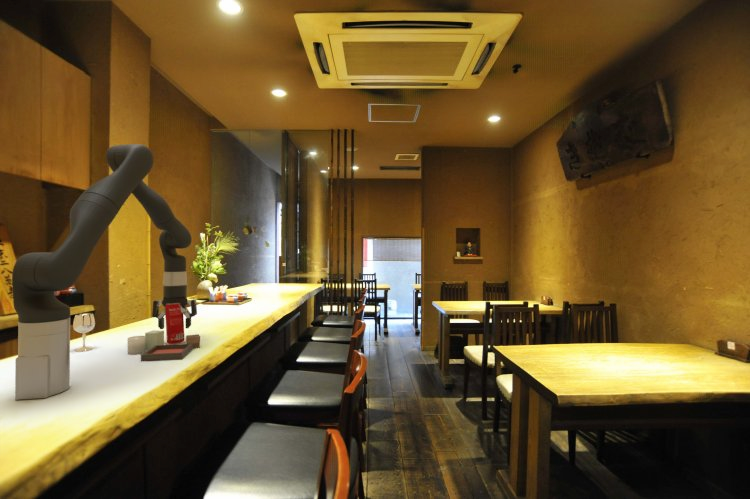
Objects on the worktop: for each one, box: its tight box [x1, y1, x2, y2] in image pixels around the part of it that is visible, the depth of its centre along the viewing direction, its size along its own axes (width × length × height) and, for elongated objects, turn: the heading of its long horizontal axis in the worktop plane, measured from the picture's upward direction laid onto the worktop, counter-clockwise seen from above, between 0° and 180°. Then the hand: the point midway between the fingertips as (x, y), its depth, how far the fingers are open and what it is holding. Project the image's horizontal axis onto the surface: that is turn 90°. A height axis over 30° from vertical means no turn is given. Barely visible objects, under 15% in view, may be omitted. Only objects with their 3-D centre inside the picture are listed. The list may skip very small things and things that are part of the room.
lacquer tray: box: [140, 343, 193, 362], centre depth 118 cm, size 12×12×2 cm
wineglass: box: [72, 312, 96, 352], centre depth 124 cm, size 6×6×12 cm
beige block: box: [127, 335, 146, 356], centre depth 121 cm, size 5×5×5 cm
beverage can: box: [164, 303, 185, 345], centre depth 133 cm, size 6×6×15 cm
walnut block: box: [185, 334, 201, 349], centre depth 128 cm, size 4×4×4 cm
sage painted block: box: [144, 329, 165, 351], centre depth 125 cm, size 4×4×6 cm
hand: (174, 328), depth 134 cm, fingers open, 8 cm apart
